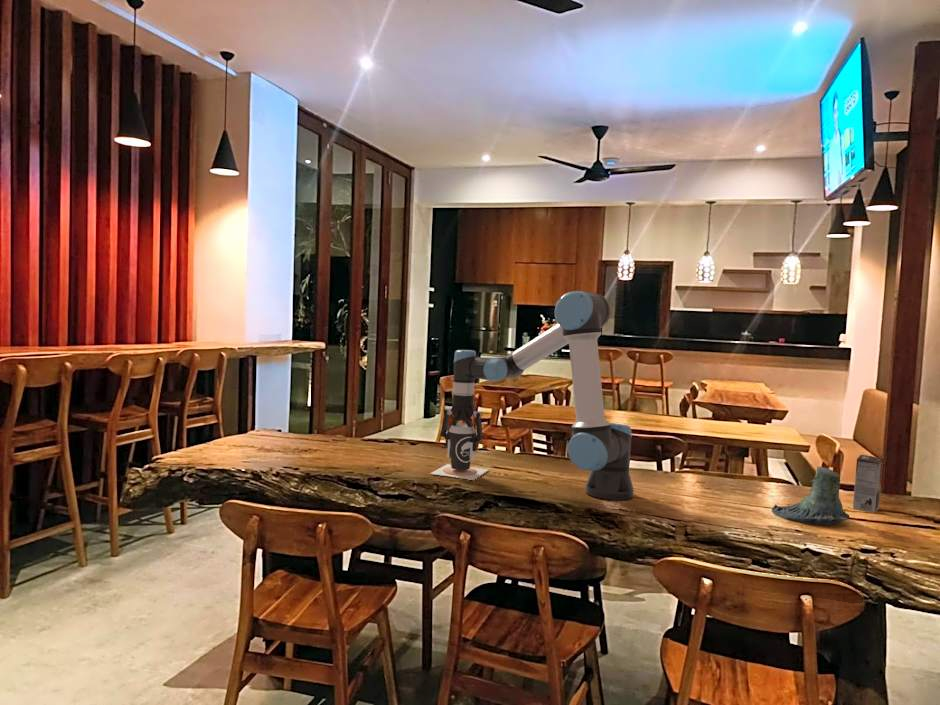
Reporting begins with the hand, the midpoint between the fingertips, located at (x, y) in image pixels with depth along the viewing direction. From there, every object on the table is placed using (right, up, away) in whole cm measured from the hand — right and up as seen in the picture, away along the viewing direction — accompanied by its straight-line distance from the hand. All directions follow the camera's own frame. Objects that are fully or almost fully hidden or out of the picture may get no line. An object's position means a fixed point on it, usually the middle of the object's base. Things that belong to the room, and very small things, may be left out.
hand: (460, 458), depth 223 cm
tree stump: (+105, -12, -34) cm, 111 cm away
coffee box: (+129, -12, -22) cm, 131 cm away
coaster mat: (0, -5, 0) cm, 5 cm away
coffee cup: (0, -3, 0) cm, 3 cm away
